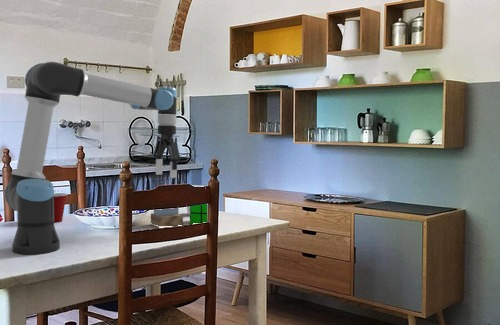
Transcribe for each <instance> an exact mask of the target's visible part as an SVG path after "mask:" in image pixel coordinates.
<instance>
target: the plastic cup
mask: <svg viewBox="0 0 500 325" xmlns="http://www.w3.org/2000/svg"><path fill="white" fill-rule="evenodd" d="M67 196H68V193H66V192H65V193H64V192H63V193H62V192H61V193H54V224H57V223H61V222H62V221H63V219H64V218H63V217H64V214H65V213H64V210H65V206H66V205H65V204H66V199H67Z"/></svg>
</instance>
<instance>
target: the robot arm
mask: <svg viewBox="0 0 500 325" xmlns="http://www.w3.org/2000/svg"><path fill="white" fill-rule="evenodd" d="M24 84H25V87H26V89H25V96H24V98H25V99H26V101H27V104H28V105H27V109H26V115H25V119H24V120H25V121H24V126H23V133H22V138H21V144H20V150H19V155H18V159H17V160H18V161H17V165H16V166H17V167H16V169H15V170H14V171H11V173H10V180H9V182H8V184H7V185H6V187H5V189H4V199H5V201H6V204H7V206H9V207H10V209H12V210H13V211H16V212H17V214H16V215H17V217H16V218H17V219H16V220H17V228H16V231H15V235H14V238H13V241H12V247H11V248H12V252H13V253H15V254H20V255H22V254H23V255H38V254H40V255H41V254H47V253H51V252H55V251H58V250H59V249H60V247H61V241H60V238H59V235H58V233H57V230H56V227H55V223H54V194H55V189H54V183H52V181H51V180H47V179H46V178H47V177H46V176H45V175H44V173H43V171H44V170H43V168H44V163H45V158H46V154H47V147H48V146H47V145H48V142H49V141H48V140H49V136H50V130H51V124H52V119H53V118H52V117H53V115H54V114H53V113H54V109H55V107H56V106H58V105H59V104H60V99H61V96H72V97H80V96H81V95H83V96H86V97H87V96H88V97H92V98H97V99H104V100H109V101H113V102H118V103H124V104H127V105H130V108H132V109H133V110H138V111H140V110H143V111H147V110H149V111H157V124H158V125H157V134H158V135H157V136H156V144H155V148H154V152H153V158H155V175H157V176H158V175H163V160H164V158H163V155H164V153H165V151H166V149H167V152H168V154H169V158H170V161H169V167H170V168H169V179H177V177H178V162H179V161H180V160H181V157H180V151H179V146H178V138H177V137H175V135H176V133H177V126H176V124H177V120H178V118H177V102H178V101H177V100H178V98H177V97H178V96H177V95H178V94H177V89H176V88H175V87H171V86H169V87H168V86H161V87H160V86H159V87H158V89H157V88H152V87H148V86H143V85H138V84H134V83H132V82H131V83H130V82H126V81H121V80H116V79H114V78H113V79H112V78H108V77H104V76H101V75H100V76H99V75H95V74H92V73H91V74H89V73H87V72H85V70H84V69H81V68H77V67H74V66H71V65H66V64H64V63H61V62H57V61H47V62H41V63H37V64H34V65H33V66H32V67H30V68H29V69H28V71H27V72H26V73H25V77H24Z"/></svg>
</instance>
